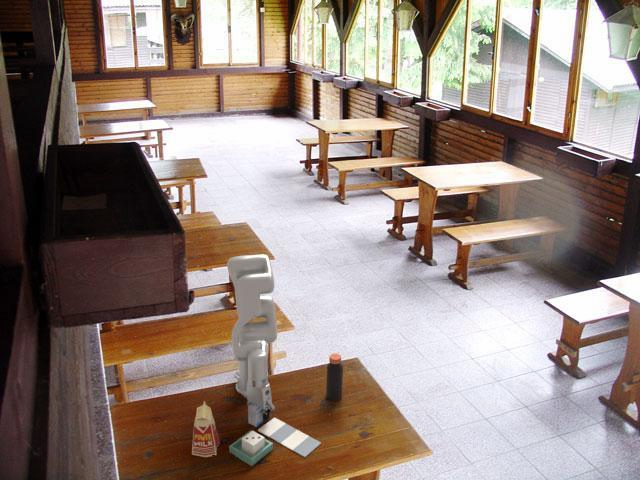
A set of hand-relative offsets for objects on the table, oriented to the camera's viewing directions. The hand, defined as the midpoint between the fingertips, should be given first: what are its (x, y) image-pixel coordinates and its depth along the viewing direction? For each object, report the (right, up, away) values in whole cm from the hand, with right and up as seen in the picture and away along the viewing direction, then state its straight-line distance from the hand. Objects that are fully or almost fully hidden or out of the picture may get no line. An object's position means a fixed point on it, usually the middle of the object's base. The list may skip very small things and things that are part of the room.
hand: (258, 416), depth 257 cm
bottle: (+31, +4, +17) cm, 35 cm away
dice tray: (-1, -9, -16) cm, 18 cm away
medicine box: (0, -2, +1) cm, 2 cm away
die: (0, -8, -16) cm, 19 cm away
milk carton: (-19, -8, -15) cm, 25 cm away
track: (+13, -6, -8) cm, 16 cm away
